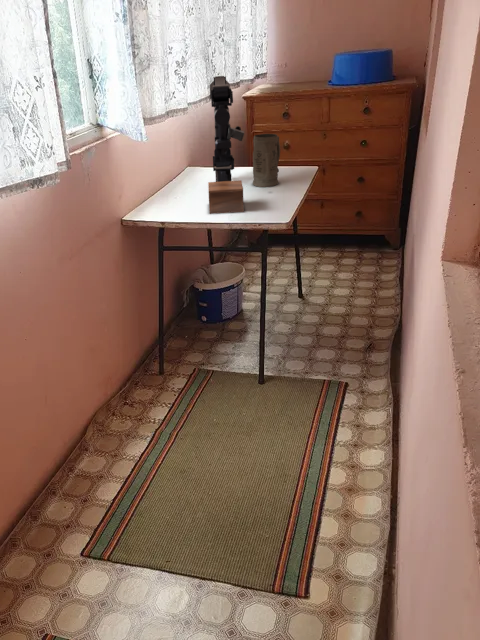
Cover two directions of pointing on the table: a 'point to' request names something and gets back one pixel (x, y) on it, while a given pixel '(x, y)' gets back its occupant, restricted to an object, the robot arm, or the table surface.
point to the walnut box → (226, 202)
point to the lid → (225, 186)
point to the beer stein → (266, 160)
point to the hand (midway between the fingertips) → (223, 163)
